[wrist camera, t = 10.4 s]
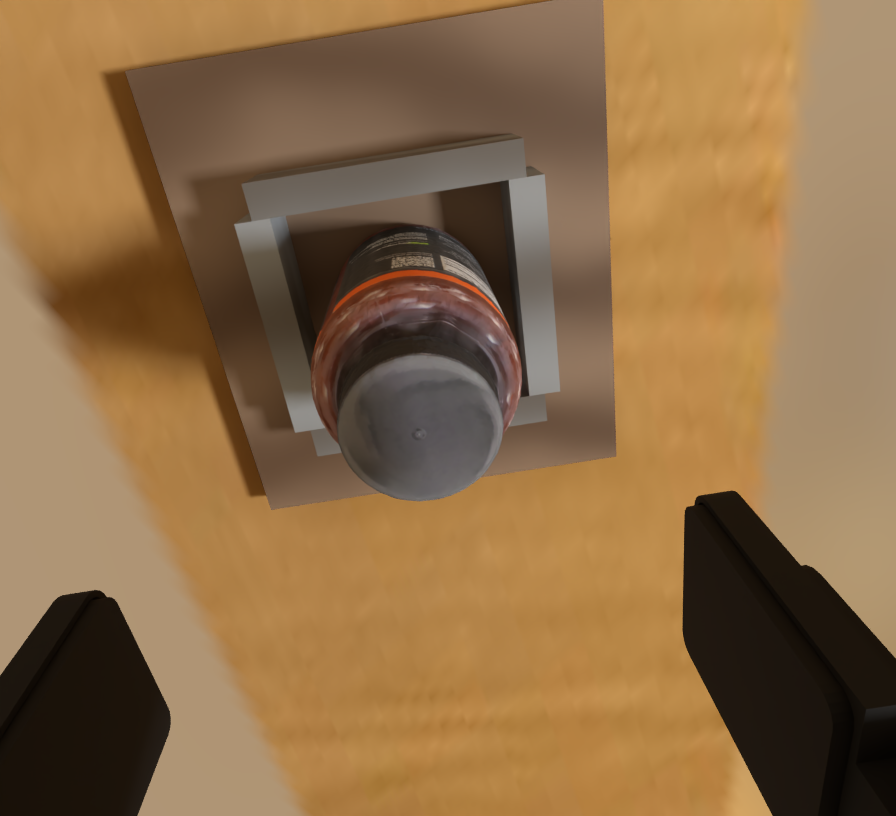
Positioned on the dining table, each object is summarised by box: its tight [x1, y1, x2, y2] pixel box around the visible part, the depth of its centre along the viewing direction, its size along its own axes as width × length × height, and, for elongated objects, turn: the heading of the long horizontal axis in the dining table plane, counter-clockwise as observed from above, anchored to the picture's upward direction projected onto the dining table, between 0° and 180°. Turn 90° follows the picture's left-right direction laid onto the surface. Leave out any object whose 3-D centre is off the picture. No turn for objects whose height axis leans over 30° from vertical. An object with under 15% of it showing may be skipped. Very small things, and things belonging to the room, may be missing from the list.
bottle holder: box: [125, 0, 616, 510], centre depth 24 cm, size 18×16×4 cm
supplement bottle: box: [311, 224, 522, 501], centre depth 20 cm, size 6×6×11 cm
